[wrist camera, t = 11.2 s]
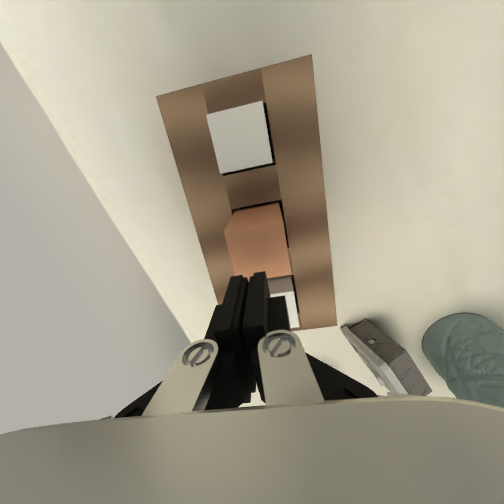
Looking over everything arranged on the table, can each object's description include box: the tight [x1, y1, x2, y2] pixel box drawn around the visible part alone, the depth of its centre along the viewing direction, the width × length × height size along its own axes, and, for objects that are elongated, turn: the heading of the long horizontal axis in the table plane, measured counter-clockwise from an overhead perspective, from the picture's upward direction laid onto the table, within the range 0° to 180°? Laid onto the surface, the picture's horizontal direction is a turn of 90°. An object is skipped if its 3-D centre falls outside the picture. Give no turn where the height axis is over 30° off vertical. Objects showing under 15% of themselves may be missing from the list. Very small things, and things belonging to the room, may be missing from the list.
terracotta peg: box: [224, 202, 292, 281], centre depth 20 cm, size 4×4×6 cm
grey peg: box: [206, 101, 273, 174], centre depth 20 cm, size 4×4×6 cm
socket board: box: [156, 54, 337, 331], centre depth 24 cm, size 24×12×5 cm, turn 12°
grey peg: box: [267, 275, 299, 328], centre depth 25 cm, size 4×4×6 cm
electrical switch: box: [341, 319, 432, 396], centre depth 28 cm, size 8×5×8 cm, turn 36°
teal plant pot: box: [422, 313, 504, 408], centre depth 26 cm, size 10×10×12 cm
